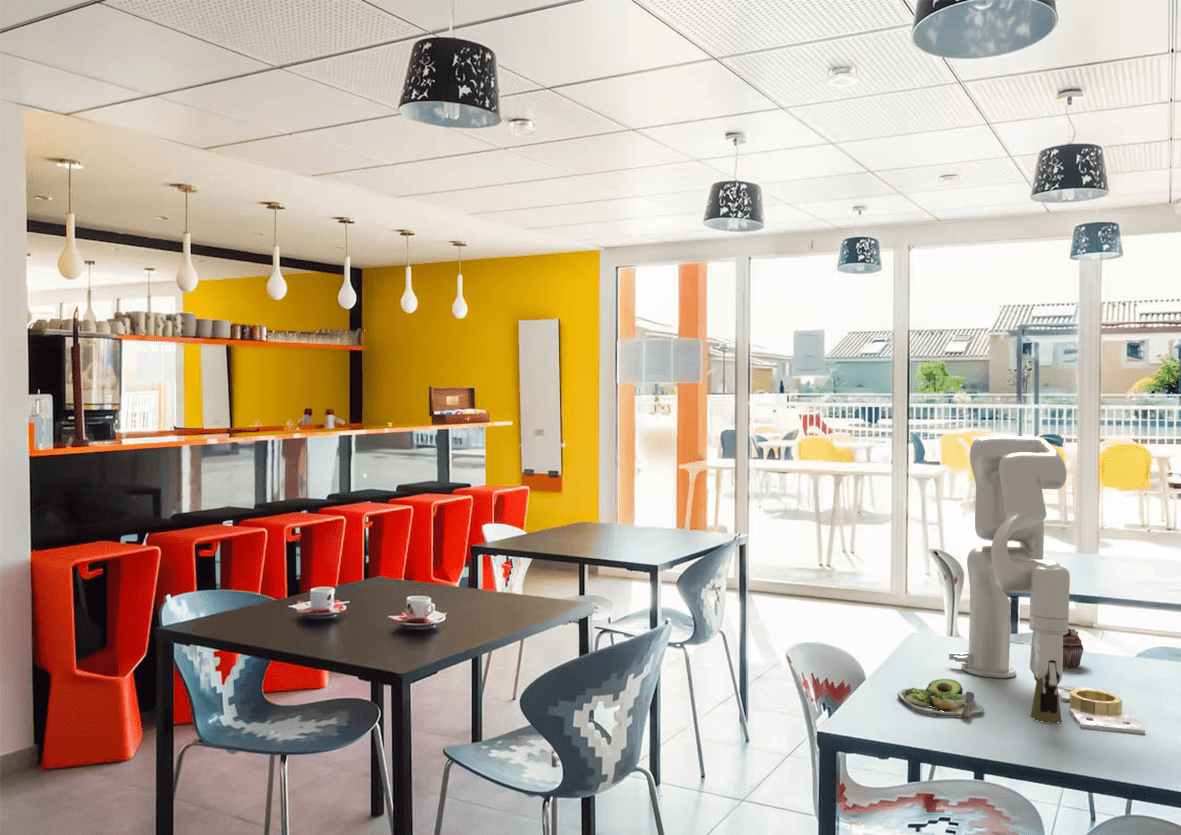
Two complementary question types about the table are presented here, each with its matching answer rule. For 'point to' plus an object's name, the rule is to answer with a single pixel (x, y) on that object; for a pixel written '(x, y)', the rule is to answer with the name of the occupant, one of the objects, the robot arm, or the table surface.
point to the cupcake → (1072, 649)
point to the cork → (1036, 705)
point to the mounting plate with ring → (1098, 709)
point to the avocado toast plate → (942, 699)
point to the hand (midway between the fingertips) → (1046, 708)
